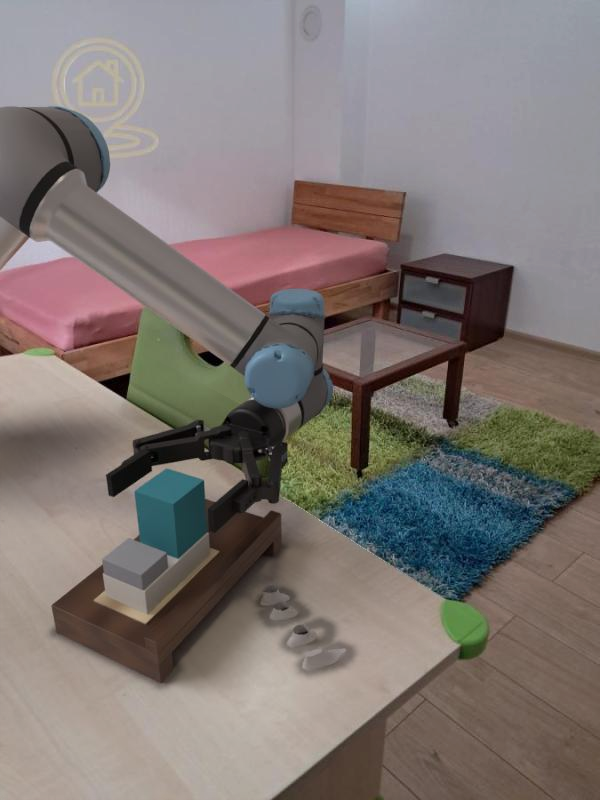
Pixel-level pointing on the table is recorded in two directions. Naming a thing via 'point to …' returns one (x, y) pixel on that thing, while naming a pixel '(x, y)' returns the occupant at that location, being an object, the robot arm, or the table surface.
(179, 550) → the stacked toy blocks
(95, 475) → the table surface
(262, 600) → the baby socks
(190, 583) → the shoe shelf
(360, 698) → the table surface
